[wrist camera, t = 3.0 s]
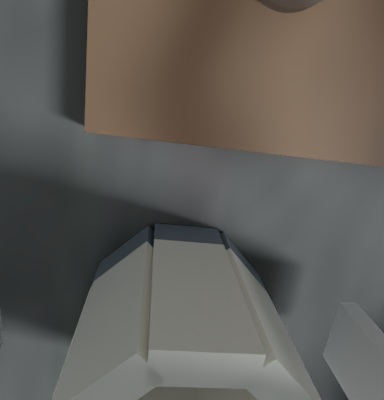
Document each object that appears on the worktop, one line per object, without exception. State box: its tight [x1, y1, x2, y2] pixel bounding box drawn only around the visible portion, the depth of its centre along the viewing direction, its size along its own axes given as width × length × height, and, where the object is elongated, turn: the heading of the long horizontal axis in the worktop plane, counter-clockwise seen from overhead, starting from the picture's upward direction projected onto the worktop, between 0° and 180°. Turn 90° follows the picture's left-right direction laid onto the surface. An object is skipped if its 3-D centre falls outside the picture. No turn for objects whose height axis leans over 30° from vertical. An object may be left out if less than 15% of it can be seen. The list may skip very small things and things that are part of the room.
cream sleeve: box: [51, 223, 321, 400], centre depth 12 cm, size 7×7×7 cm
